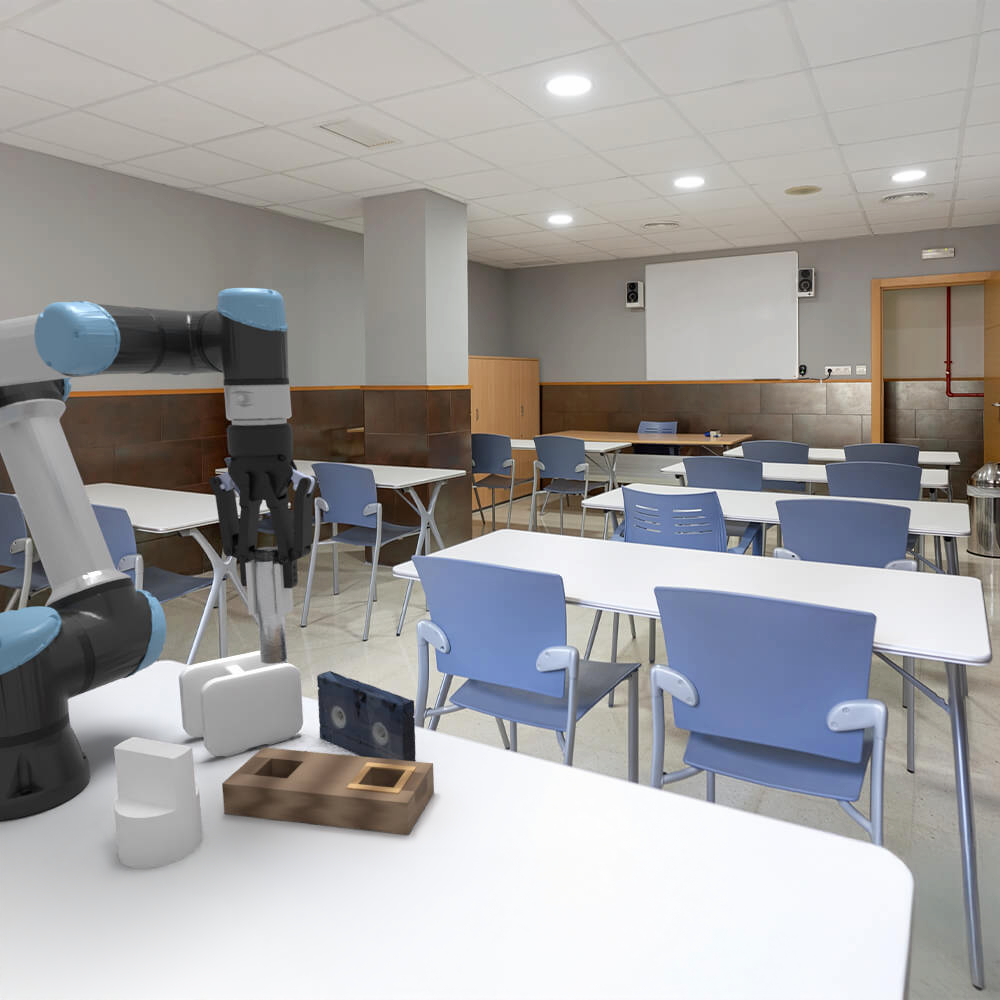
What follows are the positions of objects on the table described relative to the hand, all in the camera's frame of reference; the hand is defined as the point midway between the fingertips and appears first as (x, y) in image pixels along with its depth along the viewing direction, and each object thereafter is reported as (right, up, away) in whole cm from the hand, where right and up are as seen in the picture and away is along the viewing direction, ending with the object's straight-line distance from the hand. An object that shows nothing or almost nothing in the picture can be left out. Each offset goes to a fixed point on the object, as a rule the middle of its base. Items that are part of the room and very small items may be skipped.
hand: (271, 612), depth 100 cm
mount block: (+7, -24, +2) cm, 26 cm away
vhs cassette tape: (+9, -23, +16) cm, 29 cm away
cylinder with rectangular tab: (-11, -26, -6) cm, 29 cm away
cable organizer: (-10, -22, +21) cm, 32 cm away
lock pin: (0, -6, +1) cm, 6 cm away
